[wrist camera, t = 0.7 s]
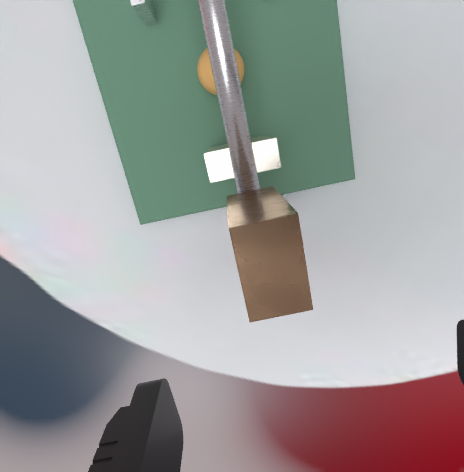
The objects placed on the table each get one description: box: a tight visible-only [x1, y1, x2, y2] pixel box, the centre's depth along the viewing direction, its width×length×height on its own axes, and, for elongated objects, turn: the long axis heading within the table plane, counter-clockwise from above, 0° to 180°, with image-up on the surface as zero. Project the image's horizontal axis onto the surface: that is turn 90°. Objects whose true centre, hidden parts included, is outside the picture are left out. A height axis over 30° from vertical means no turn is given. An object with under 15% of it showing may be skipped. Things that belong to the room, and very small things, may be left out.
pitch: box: [73, 0, 355, 225], centre depth 31 cm, size 22×24×1 cm
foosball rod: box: [198, 0, 313, 322], centre depth 21 cm, size 5×31×18 cm, turn 12°
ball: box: [197, 48, 244, 95], centre depth 29 cm, size 4×4×4 cm
